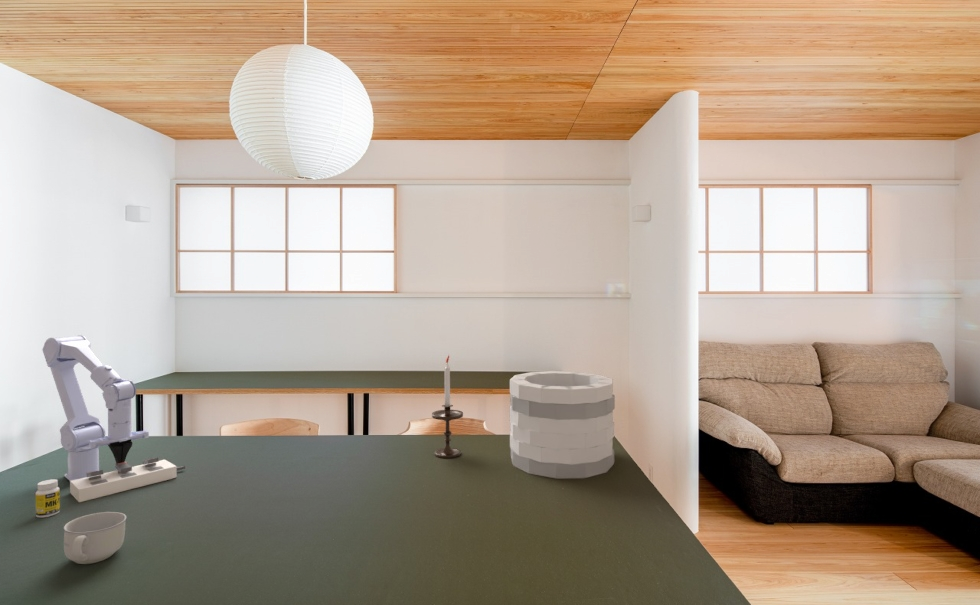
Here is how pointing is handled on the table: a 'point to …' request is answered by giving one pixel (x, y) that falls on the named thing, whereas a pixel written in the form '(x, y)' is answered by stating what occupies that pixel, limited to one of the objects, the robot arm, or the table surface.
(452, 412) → the candlestick
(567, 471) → the storage basket
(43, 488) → the supplement bottle
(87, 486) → the power strip
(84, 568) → the table surface
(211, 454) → the table surface
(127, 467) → the block
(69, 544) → the teacup
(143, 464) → the block
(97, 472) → the rocker
